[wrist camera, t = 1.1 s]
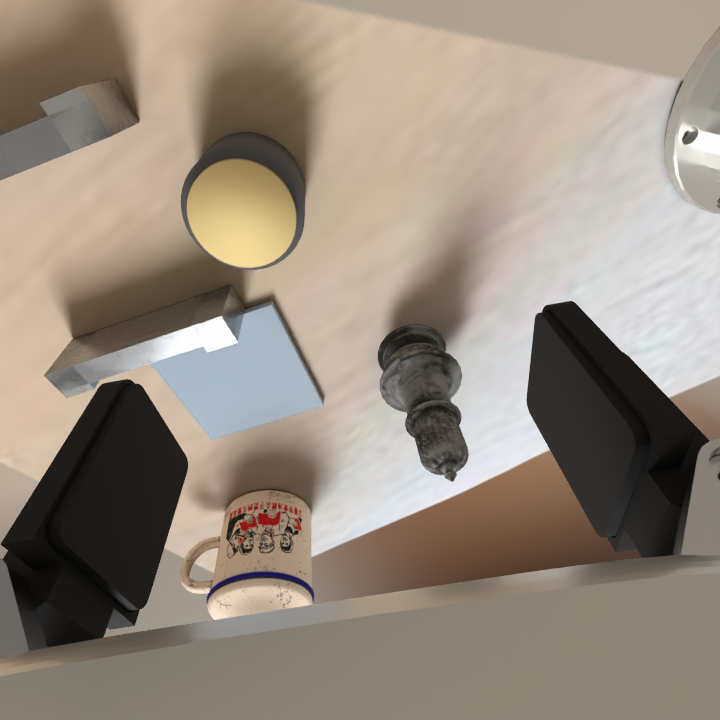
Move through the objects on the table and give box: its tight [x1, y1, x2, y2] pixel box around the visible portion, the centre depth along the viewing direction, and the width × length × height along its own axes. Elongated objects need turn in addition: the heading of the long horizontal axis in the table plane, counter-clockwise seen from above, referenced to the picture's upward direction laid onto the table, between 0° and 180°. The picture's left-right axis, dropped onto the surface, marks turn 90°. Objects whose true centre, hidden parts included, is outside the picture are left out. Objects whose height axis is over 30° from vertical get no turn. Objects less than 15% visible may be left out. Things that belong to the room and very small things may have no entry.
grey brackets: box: [0, 79, 245, 398], centre depth 24 cm, size 12×14×4 cm
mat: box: [150, 301, 324, 440], centre depth 33 cm, size 10×10×1 cm
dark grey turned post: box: [378, 325, 469, 482], centre depth 28 cm, size 6×6×12 cm
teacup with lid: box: [180, 490, 314, 620], centre depth 39 cm, size 12×9×12 cm
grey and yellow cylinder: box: [181, 132, 305, 270], centre depth 23 cm, size 6×6×5 cm
